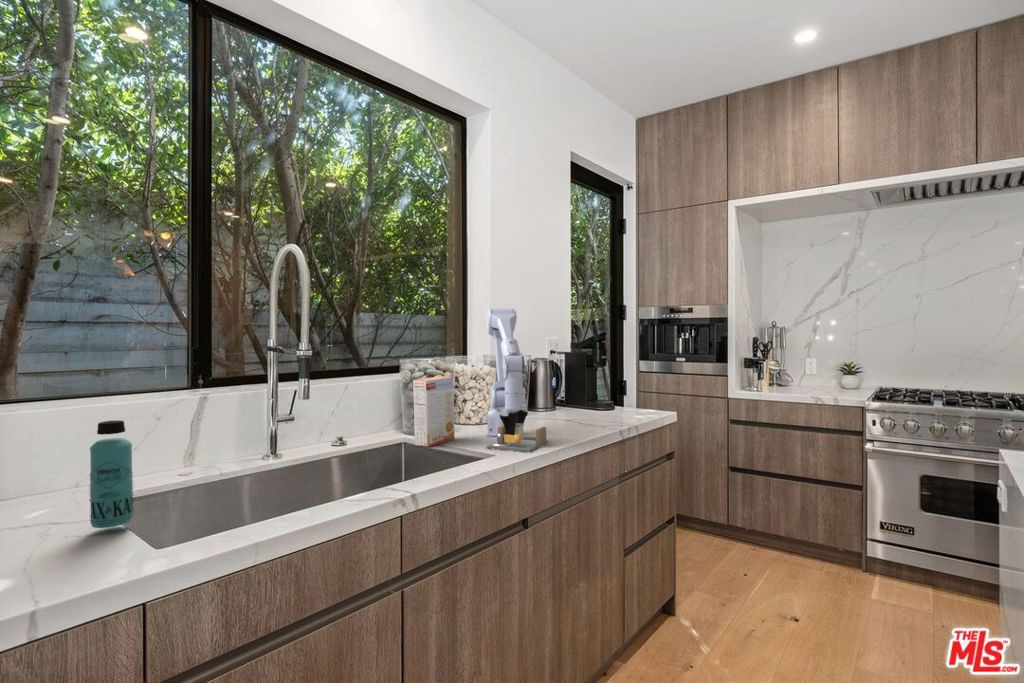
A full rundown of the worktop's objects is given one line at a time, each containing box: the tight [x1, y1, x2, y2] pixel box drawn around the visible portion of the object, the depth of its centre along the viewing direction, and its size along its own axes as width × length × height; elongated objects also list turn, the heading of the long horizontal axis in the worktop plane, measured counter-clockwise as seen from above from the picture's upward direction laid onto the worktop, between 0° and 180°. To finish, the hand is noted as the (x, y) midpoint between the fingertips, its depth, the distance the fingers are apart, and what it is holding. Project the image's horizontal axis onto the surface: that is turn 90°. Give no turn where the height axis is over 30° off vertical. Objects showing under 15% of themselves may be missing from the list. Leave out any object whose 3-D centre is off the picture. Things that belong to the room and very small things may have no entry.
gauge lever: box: [504, 434, 521, 444], centre depth 168 cm, size 6×2×2 cm, turn 53°
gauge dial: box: [490, 433, 511, 447], centre depth 171 cm, size 6×6×3 cm
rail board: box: [486, 425, 548, 453], centre depth 172 cm, size 14×15×5 cm
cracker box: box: [412, 375, 455, 448], centre depth 179 cm, size 14×6×21 cm, turn 149°
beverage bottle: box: [88, 420, 135, 529], centre depth 101 cm, size 6×7×20 cm
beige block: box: [514, 423, 525, 440], centre depth 177 cm, size 4×4×5 cm
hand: (514, 435), depth 177 cm, fingers open, 5 cm apart
